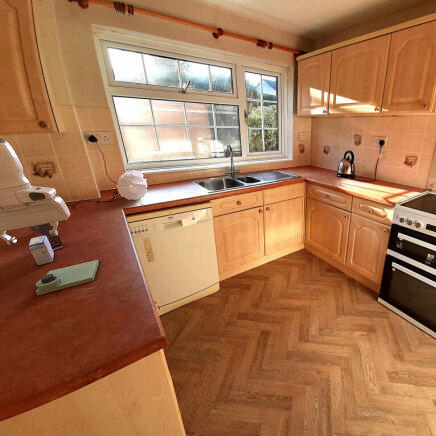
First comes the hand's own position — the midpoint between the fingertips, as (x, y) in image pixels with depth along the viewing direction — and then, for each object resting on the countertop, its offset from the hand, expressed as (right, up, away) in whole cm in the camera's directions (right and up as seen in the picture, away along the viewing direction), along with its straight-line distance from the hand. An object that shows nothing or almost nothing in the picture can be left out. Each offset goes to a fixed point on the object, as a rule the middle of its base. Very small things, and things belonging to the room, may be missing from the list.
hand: (34, 239), depth 74 cm
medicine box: (-18, -10, +21) cm, 29 cm away
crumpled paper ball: (-33, +22, +100) cm, 108 cm away
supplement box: (-24, -6, +30) cm, 40 cm away
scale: (+3, -14, +9) cm, 17 cm away
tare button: (+1, -14, +3) cm, 14 cm away
